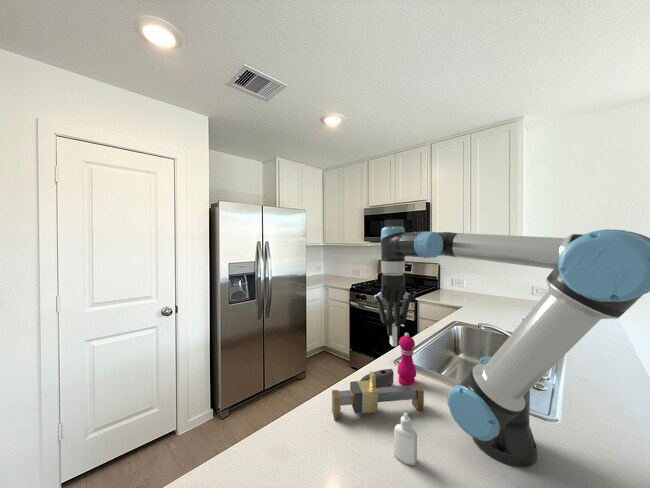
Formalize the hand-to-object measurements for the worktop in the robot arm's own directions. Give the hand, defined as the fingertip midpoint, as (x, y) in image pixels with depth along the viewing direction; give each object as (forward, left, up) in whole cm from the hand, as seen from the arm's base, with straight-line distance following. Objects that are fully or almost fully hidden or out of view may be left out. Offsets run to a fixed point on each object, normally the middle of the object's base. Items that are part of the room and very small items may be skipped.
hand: (393, 344), depth 87 cm
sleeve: (0, +9, -20) cm, 22 cm away
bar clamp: (0, +5, -22) cm, 23 cm away
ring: (0, +13, -20) cm, 24 cm away
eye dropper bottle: (-19, +4, -22) cm, 29 cm away
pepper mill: (+15, -12, -22) cm, 30 cm away
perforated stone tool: (+12, +1, -23) cm, 26 cm away
